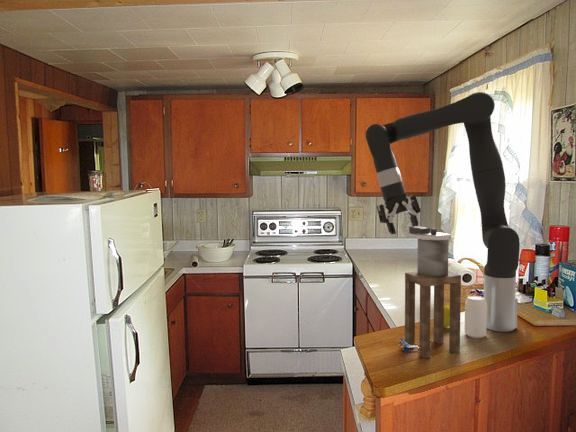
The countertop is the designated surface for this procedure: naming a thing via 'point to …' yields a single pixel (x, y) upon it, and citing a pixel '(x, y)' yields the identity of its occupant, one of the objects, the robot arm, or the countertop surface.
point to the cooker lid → (428, 233)
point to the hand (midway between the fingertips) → (404, 230)
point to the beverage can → (475, 316)
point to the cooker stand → (434, 274)
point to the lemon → (446, 315)
